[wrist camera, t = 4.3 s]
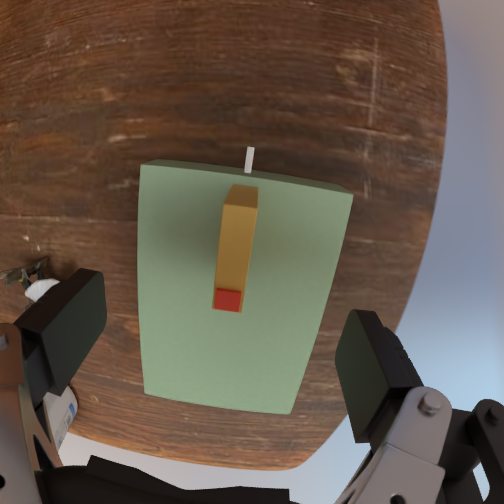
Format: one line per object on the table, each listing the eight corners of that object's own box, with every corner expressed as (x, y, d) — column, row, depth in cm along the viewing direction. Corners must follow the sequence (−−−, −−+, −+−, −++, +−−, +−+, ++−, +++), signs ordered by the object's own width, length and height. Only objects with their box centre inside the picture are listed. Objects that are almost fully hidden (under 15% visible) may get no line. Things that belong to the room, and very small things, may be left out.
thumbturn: (232, 183, 17) (222, 204, 13) (258, 187, 17) (257, 209, 13) (222, 267, 19) (210, 312, 14) (245, 271, 19) (241, 316, 14)
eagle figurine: (-2, 268, 22) (28, 360, 23) (-25, 282, 15) (18, 396, 17) (71, 248, 25) (97, 341, 27) (67, 256, 19) (103, 374, 21)
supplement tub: (2, 357, 28) (-60, 439, 14) (44, 347, 26) (-29, 452, 13) (48, 414, 31) (3, 498, 17) (96, 413, 30) (51, 517, 16)
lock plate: (159, 134, 19) (142, 136, 16) (346, 161, 19) (360, 167, 16) (153, 370, 26) (144, 395, 23) (287, 389, 27) (289, 415, 24)
